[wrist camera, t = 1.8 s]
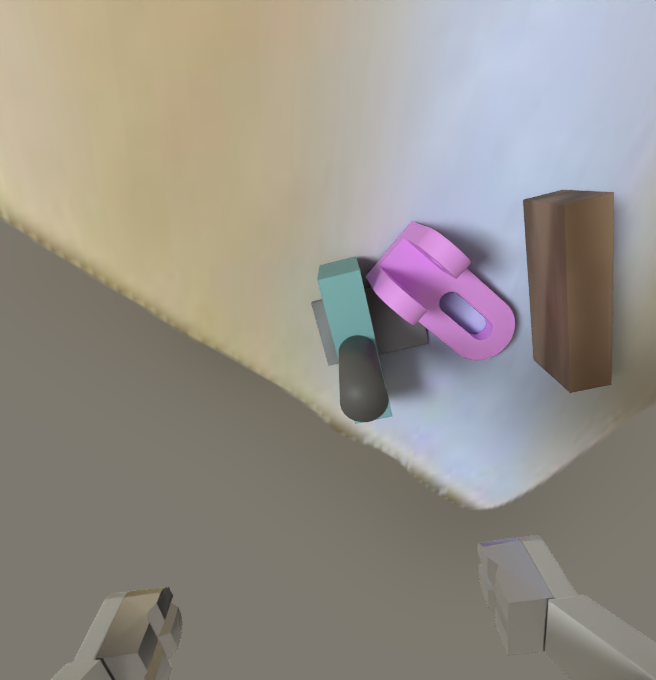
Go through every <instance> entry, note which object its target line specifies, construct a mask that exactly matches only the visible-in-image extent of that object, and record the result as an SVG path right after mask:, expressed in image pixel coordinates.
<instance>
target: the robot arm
mask: <svg viewBox="0 0 656 680" xmlns="http://www.w3.org/2000/svg"><path fill="white" fill-rule="evenodd" d="M478 555H479V558H480V560H481V563H480V564H479V566H478V574H479V580H480V585H481V589H482V592H483V595H484V598H485V601H486V603H487V606H488V608H490V609H491V610H492V611H493V612H494V613H495V615H496V628H497V631H498V633H499V635H500V638H501V640H502V643H503V645H504V648H505V650H506V652H507V655H518V654H529V653H539V652H545V655H546V656H547V657H548V658H549V659H550V660H551V661H552V662H553V663H554V664H555V665H556V666H558V668H559V669H560V670H561V671H562V672H564V674H565V675H567V676H568V677H569V678H570V679H571V680H656V643H655V642H654V641H652V640H651V639H649V638H648V637H646V636H645V635H643V634H642V633H640V632H639V631H637V630H636V629H634V628H633V627H632V626H630V625H629V624H627V623H626V622H624V621H623V620H621V619H620V618H618V617H617V616H615V615H614V614H612V613H611V612H609V611H608V610H606V609H605V608H604V607H602V606H601V605H599V604H598V603H596V602H595V601H593V600H592V599H590V598H589V597H587V596H586V595H578V594H577V592H576V591H575V589H574V588H573V586H572V584H571V583H570V581H569V580H568V578H567V577H566V575H565V574H564V572H563V570H562V569H561V567H560V566H559V564H558V563H557V561H556V559H555V558H554V557H553V555H552V553H551V552H550V550H549V548H548V547H547V545H546V544H545V542H544V541H543V539H542V538H541V537H540V536H539V535H533V536H527V537H519V538H509V539H502V540H496V541H490V542H483V543H479V544H478ZM172 598H173V594H172V592H171V590H170V588H169V587H165V588H156V589H147V590H137V591H129V592H121V593H113V594H110V595H109V596H108V597H107V598H106V599H105V600H104V602H103V604H102V606H101V608H100V610H99V612H98V614H97V616H96V618H95V619H94V621H93V623H92V625H91V628H90V629H89V631H88V633H87V635H86V637H85V639H84V641H83V643H82V645H81V647H80V649H79V651H78V653H77V655H76V657H75V659H74V661H73V663H69V664H66V665H65V666H64V667H63V668H62V669H61V670H60V671H59V672H58V673H57V674H56V675H55V676H54V677H53V678H51V680H169V677H170V674H171V670H172V667H171V664H170V662H169V658H170V657H171V656H172V655H173V654H174V653H175V652H176V650H177V649H178V646H179V643H180V639H181V634H182V616H181V612H180V610H179V608H178V607H177V606H176V605H174V604H173V603H171V601H172Z"/></svg>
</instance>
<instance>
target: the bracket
mask: <svg viewBox="0 0 656 680" xmlns="http://www.w3.org/2000/svg"><path fill="white" fill-rule="evenodd" d="M470 264H471V261H470V260H469V259H468V258H467V256H466V255H465V254H464V253H462V252H461V251H460V250H459V249H458V248H457V247H456V246H455V245H454V244H452V243H451V242H450V241H449V240H448V239H446V238H445V237H444V236H442V235H441V234H440V233H438V232H437V231H435V230H434V229H432V228H430V227H427V226H424V225H421V224H418V223H415V222H413V221H412V222H411V223H410V224H409V225H408V226H407V228H406V229H405V230H404V231H403V232H402V234H401V235H400V236H399V237H398V238H397V239H396V241H395V242H394V243H393V244H392V245H391V247H390V248H389V249H388V250H387V251H386V253H385V254H384V255H383V256H382V257H381V259H380V260H379V261H378V262H377V263H376V265H375V266H374V267H373V268H372V269H371V270H370V272H369V273H368V274H367V275H366V276H365V277H366V278H367V280H368V282H369V283H370V285H371V287H372V288H373V290H374V291H375V293H376V294H377V295H378V296H379V297H380V298H381V299H382V300H383V301H384V302H385V303H386V304H387V305H388V306H389V307H390V308H391V309H392V310H394V311H395V312H396V313H397V314H398V315H400V316H401V317H402V318H403V319H405V320H406V321H407V322H409V323H410V324H412V325H415V324H416V323H417V322H420V323H421V324H422V325H423V326H424V327H426V328H427V329H428V330H429V331H431V332H432V333H433V334H434V335H435V336H437V337H438V338H439V339H440V340H442V341H443V342H444V343H445V344H447V345H448V346H449V347H450V348H451V349H453V350H454V351H455V352H456V353H458V354H459V355H460V356H462V357H464V358H466V359H470V360H484V359H487V358H490V357H493V356H495V355H496V354H498V353H499V352H501V351H502V350H503V349H504V348H505V347H506V346H507V345H508V343H509V342H510V340H511V338H512V336H513V333H514V330H515V318H514V314H513V312H512V310H511V309H510V307H509V306H508V305H507V304H506V303H505V302H504V301H503V300H501V299H500V298H499V297H498V296H497V295H496V294H495V293H494V292H493V291H491V290H490V289H489V288H488V287H487V286H486V285H485V284H484V283H483V282H481V281H480V280H479V279H478V278H477V277H476V276H475V275H474V274H473V273H471V272H470V271H469V270H468V269H467V267H468V266H469V265H470ZM448 292H456V293H457V294H458V295H459V296H461V297H462V298H463V299H464V300H465V301H466V302H468V303H469V304H470V305H471V306H472V307H473V308H474V309H476V310H477V311H478V312H479V313H480V314H481V315H483V316H484V318H485V319H486V326H485V328H484V329H483V331H481V332H480V333H478V334H470V333H468V332H467V331H466V330H465V329H463V328H462V327H461V326H460V325H459V324H457V323H456V322H455V321H454V320H453V319H452V318H450V317H449V316H448V315H447V314H446V313H444V312H443V311H442V310H441V309H440V306H439V302H440V299H441V297H442V296H443V295H444V294H446V293H448Z"/></svg>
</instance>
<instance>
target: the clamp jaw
mask: <svg viewBox="0 0 656 680" xmlns="http://www.w3.org/2000/svg"><path fill="white" fill-rule="evenodd" d="M317 281H318V284H319V288H320V292H321V296H322V300H323V303H324V307H325V311H326V315H327V318H328V322H329V326H330V330H331V334H332V337H333V341H334V345H335V349H336V353H337V356H338V360H339V383H340V405H341V409H342V411H343V412H344V414H345V415H346V416H347V417H349V418H350V419H352V420H354V421H355V424H357V423H362V422H370V421H373V420H376V419H381V418H386V417H391V416H392V412H391V408H390V403H389V399H388V394H387V390H386V385H385V381H384V376H383V372H382V367H381V363H380V358H379V354H378V349H377V345H376V340H375V336H374V331H373V327H372V322H371V318H370V313H369V309H368V304H367V300H366V295H365V291H364V286H363V282H362V277H361V273H360V268H359V265H358V262H357V258H356V257H352V258H348V259H344V260H340V261H336V262H332V263H328V264H324V265H320V266H319V273H318V279H317Z"/></svg>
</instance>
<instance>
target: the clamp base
mask: <svg viewBox="0 0 656 680" xmlns="http://www.w3.org/2000/svg"><path fill="white" fill-rule="evenodd" d="M523 206H524V221H525V236H526V251H527V266H528V281H529V296H530V311H531V327H532V342H533V357H534V360H535V361H536V362H537V363H538V364H539V365H540V366H541V367H542V368H543V369H544V370H546V371H547V372H548V373H549V374H550V375H551V376H552V377H553V378H554V379H556V380H557V381H558V382H559V383H560V384H561V385H562V386H563V387H564V388H566V389H567V390H568V391H569V392H570V393H572V392H577V391H582V390H587V389H592V388H596V387H601V386H606V385H611V369H612V291H613V213H614V192H595V191H575V190H561V191H557V192H553V193H549V194H545V195H541V196H537V197H533V198H529V199H525V200H523ZM364 291H365V295H366V300H367V304H368V309H369V313H370V318H371V322H372V327H373V331H374V336H375V340H376V345H377V349H378V354H383V353H388V352H392V351H397V350H401V349H406V348H410V347H415V346H419V345H424V344H428V339H427V333H426V327H424V326H423V325H422V324H421V323H420V322H417V323H416V324H415V325H412V324H410V323H409V322H407V321H406V320H405V319H403V318H402V317H401V316H400V315H398V314H397V313H396V312H395V311H394V310H392V309H391V308H390V307H389V306H388V305H387V304H386V303H385V302H384V301H383V300H382V299H381V298H380V297H379V296H378V295H377V294H376V293H375V291H374V290H373V288H368V289H364ZM312 307H313V311H314V314H315V318H316V322H317V325H318V329H319V332H320V336H321V340H322V343H323V347H324V351H325V354H326V358H327V362H328V365H333V364H338V363H339V360H338V356H337V353H336V349H335V345H334V341H333V337H332V334H331V330H330V326H329V322H328V318H327V315H326V311H325V307H324V303H323V300H317V301H313V302H312Z"/></svg>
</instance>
